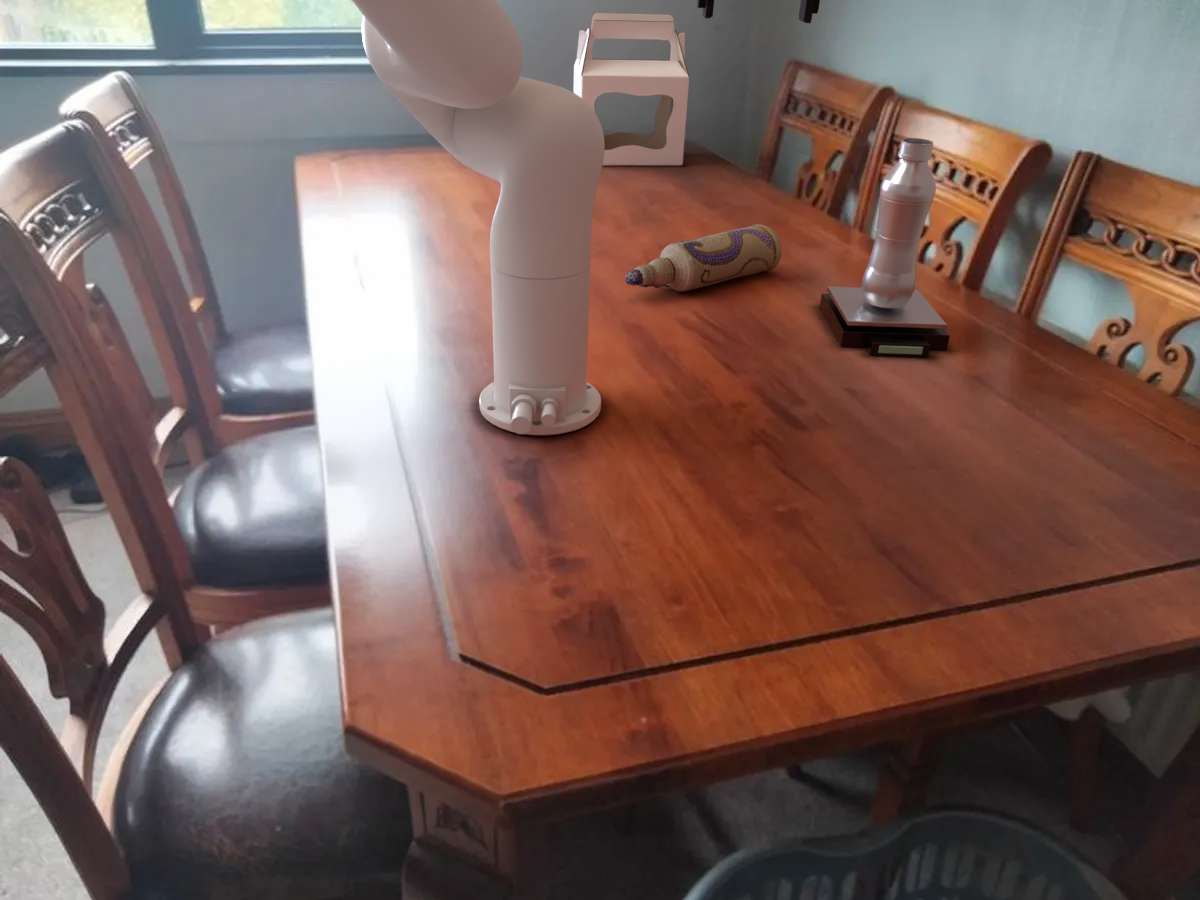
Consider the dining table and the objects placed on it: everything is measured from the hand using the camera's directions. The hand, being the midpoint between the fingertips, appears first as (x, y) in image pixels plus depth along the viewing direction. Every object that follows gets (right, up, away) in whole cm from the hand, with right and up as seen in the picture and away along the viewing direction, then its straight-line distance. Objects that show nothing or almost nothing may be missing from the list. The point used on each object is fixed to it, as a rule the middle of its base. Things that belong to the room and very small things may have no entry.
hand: (755, 19), depth 90 cm
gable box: (-10, +20, +104) cm, 107 cm away
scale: (+21, -27, +26) cm, 43 cm away
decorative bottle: (-1, -19, +40) cm, 44 cm away
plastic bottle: (+21, -24, +25) cm, 41 cm away
